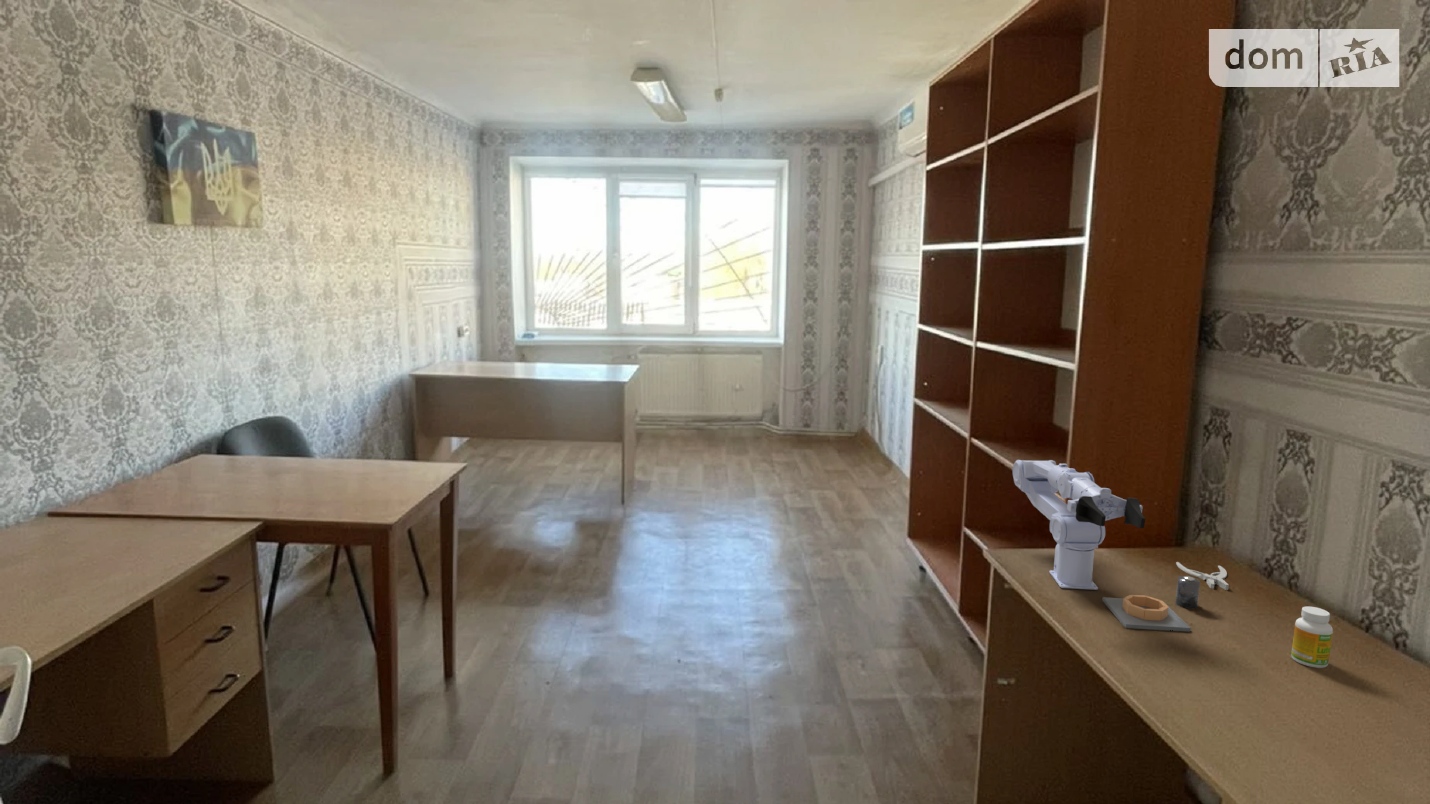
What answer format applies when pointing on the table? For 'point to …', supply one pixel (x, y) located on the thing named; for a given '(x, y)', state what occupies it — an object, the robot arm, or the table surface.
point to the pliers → (1209, 576)
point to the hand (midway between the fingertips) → (1123, 522)
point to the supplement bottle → (1312, 638)
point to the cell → (1187, 592)
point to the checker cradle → (1145, 613)
